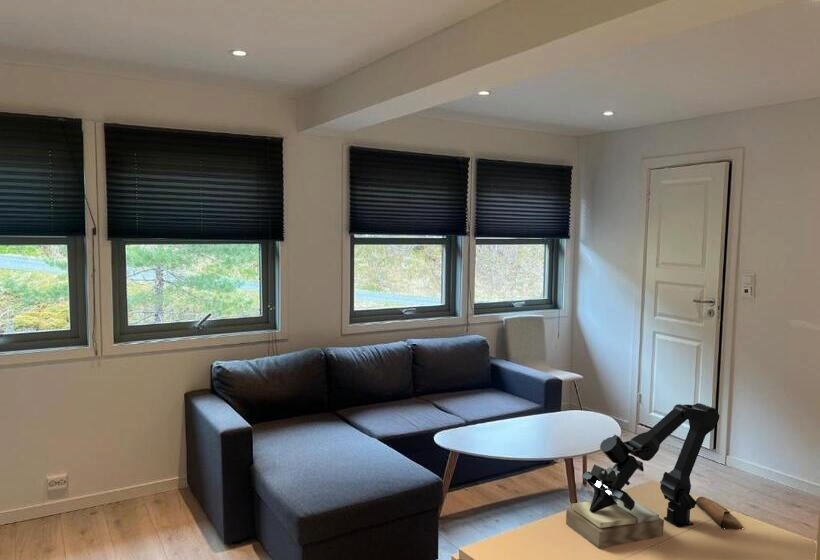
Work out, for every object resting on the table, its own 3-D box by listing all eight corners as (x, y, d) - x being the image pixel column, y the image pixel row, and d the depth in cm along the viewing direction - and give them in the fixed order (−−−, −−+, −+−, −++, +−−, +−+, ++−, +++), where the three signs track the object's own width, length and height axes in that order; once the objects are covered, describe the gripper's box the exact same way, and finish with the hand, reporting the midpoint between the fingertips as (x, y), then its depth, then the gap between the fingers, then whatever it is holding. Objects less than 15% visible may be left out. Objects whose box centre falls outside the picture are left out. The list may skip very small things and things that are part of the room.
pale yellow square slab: (604, 504, 192) (605, 499, 192) (635, 523, 179) (635, 518, 179) (571, 508, 187) (571, 503, 187) (600, 528, 174) (600, 523, 174)
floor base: (626, 514, 197) (627, 494, 196) (663, 536, 182) (664, 515, 181) (565, 524, 188) (566, 504, 188) (598, 548, 173) (599, 527, 173)
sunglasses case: (747, 529, 187) (737, 511, 187) (727, 540, 187) (717, 522, 187) (719, 505, 205) (710, 488, 205) (701, 515, 205) (692, 498, 205)
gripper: (588, 446, 191) (558, 484, 188) (628, 466, 174) (596, 508, 170) (607, 467, 194) (577, 505, 191) (648, 489, 177) (617, 531, 174)
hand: (591, 511), depth 182 cm, fingers closed, pressing on pale yellow square slab
